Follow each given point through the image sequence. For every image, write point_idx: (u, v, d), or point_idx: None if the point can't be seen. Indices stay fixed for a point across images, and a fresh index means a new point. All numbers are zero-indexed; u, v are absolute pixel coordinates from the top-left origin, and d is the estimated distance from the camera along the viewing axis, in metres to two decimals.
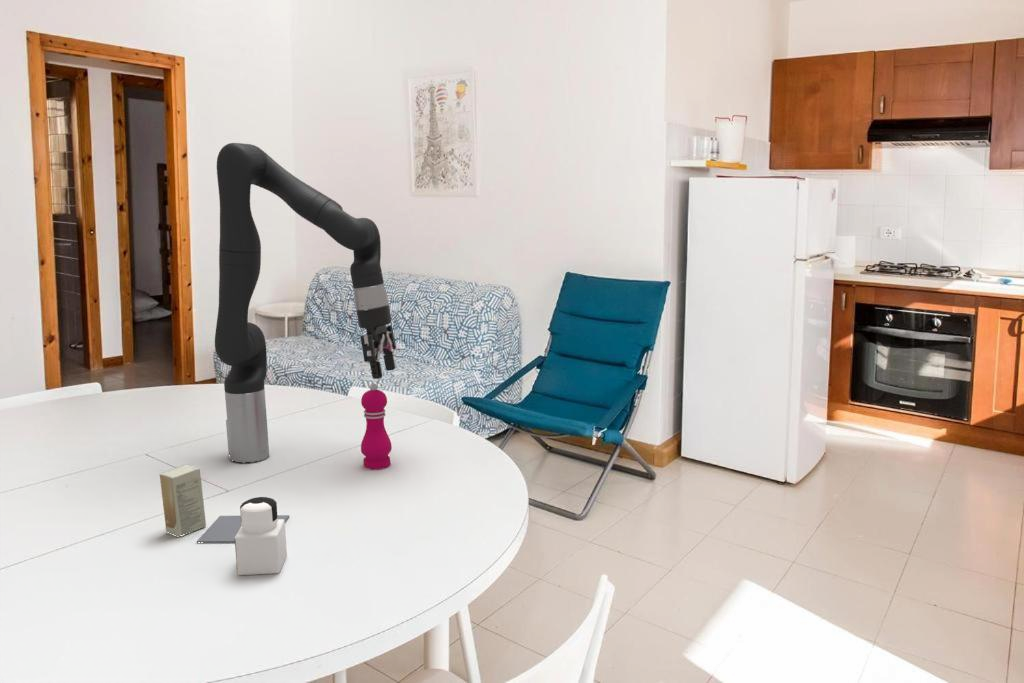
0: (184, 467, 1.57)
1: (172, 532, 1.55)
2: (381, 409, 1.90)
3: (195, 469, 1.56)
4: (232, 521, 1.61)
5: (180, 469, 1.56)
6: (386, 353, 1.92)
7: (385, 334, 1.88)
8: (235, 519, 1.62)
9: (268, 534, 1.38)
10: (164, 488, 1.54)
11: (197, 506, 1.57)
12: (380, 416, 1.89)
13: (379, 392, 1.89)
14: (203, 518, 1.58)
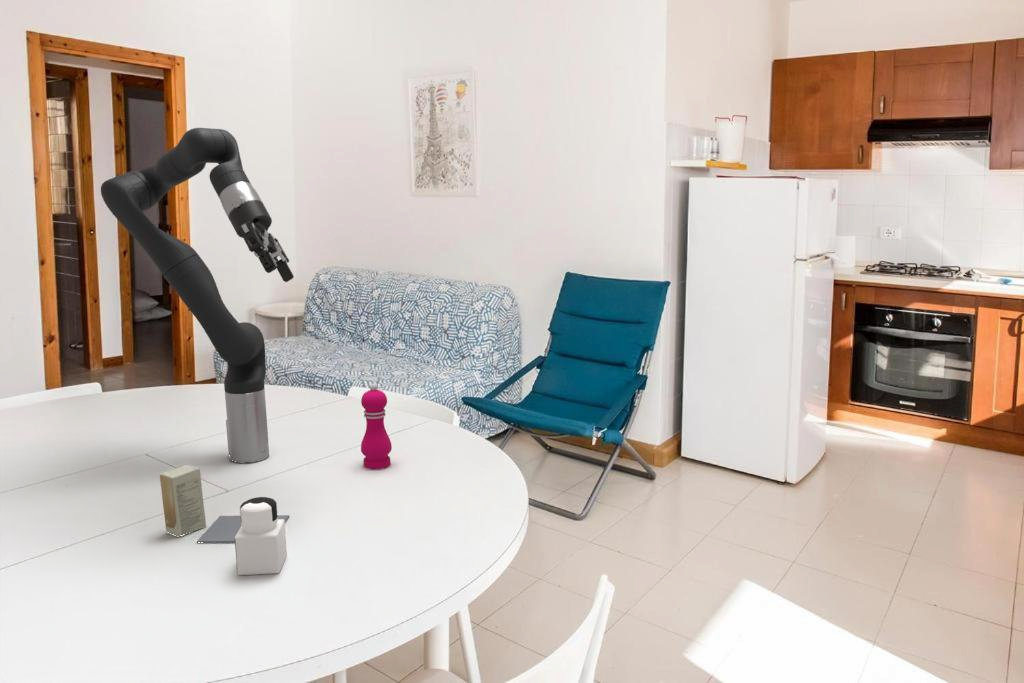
0: (184, 467, 1.57)
1: (172, 532, 1.55)
2: (381, 409, 1.90)
3: (195, 469, 1.56)
4: (232, 521, 1.61)
5: (180, 469, 1.56)
6: (278, 264, 1.68)
7: (269, 234, 1.66)
8: (235, 519, 1.62)
9: (268, 534, 1.38)
10: (164, 488, 1.54)
11: (197, 506, 1.57)
12: (380, 416, 1.89)
13: (379, 392, 1.89)
14: (203, 518, 1.58)
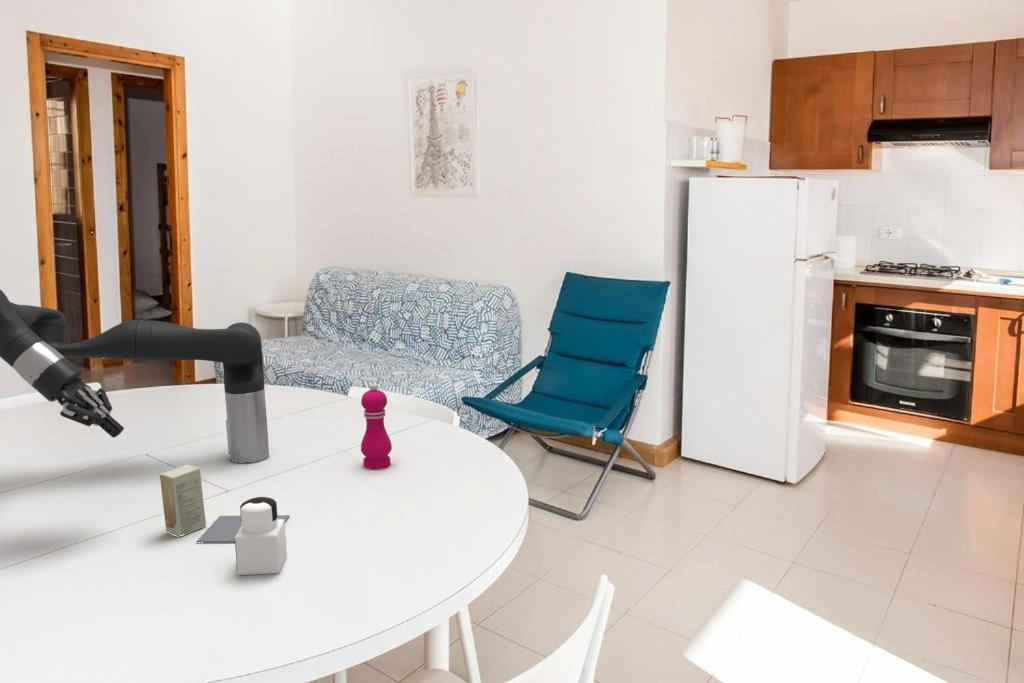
0: (184, 467, 1.57)
1: (172, 532, 1.55)
2: (381, 409, 1.90)
3: (195, 469, 1.56)
4: (232, 521, 1.61)
5: (180, 469, 1.56)
6: None
7: (84, 388, 1.54)
8: (235, 519, 1.62)
9: (268, 534, 1.38)
10: (164, 488, 1.54)
11: (197, 506, 1.57)
12: (380, 416, 1.89)
13: (379, 392, 1.89)
14: (203, 518, 1.58)
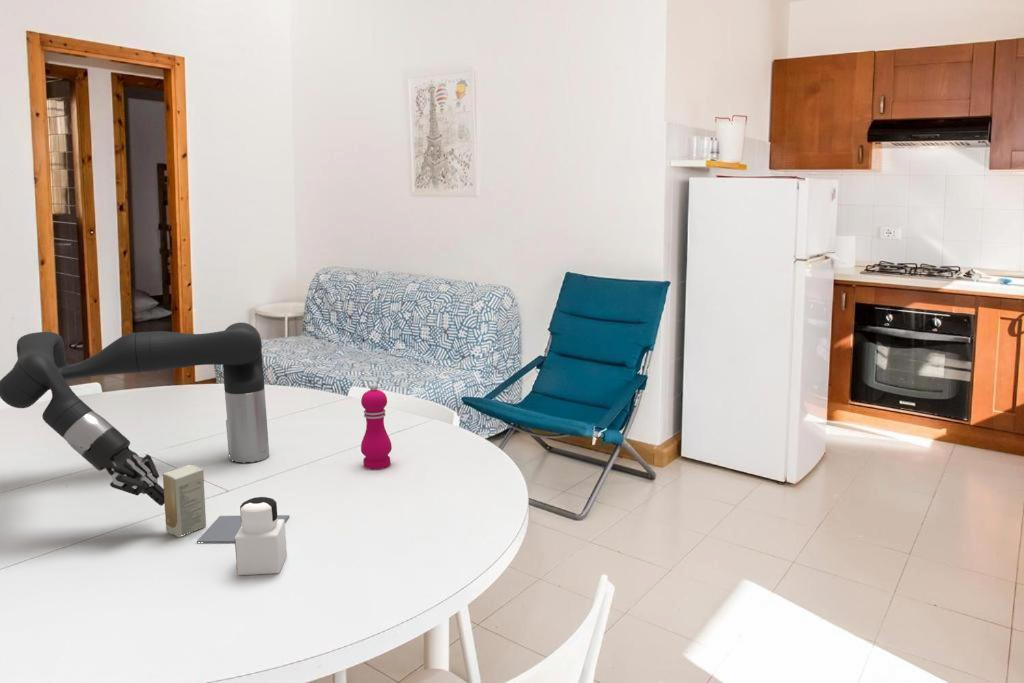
0: (187, 467, 1.57)
1: (172, 531, 1.55)
2: (381, 409, 1.90)
3: (198, 470, 1.56)
4: (232, 521, 1.61)
5: (183, 469, 1.55)
6: None
7: (132, 456, 1.56)
8: (235, 519, 1.62)
9: (268, 534, 1.38)
10: (166, 488, 1.53)
11: (199, 506, 1.57)
12: (380, 416, 1.89)
13: (379, 392, 1.89)
14: (204, 518, 1.58)
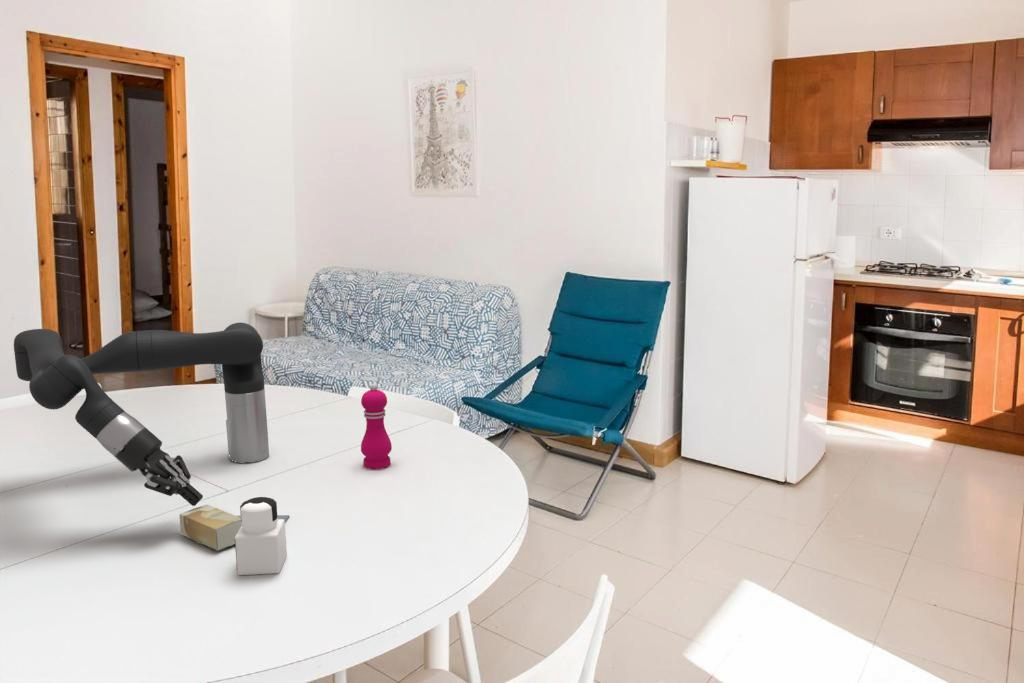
0: (238, 527, 1.50)
1: (181, 526, 1.54)
2: (381, 409, 1.90)
3: None
4: None
5: (233, 531, 1.50)
6: None
7: (164, 457, 1.56)
8: None
9: (268, 534, 1.38)
10: (207, 532, 1.48)
11: None
12: (380, 416, 1.89)
13: (379, 392, 1.89)
14: None
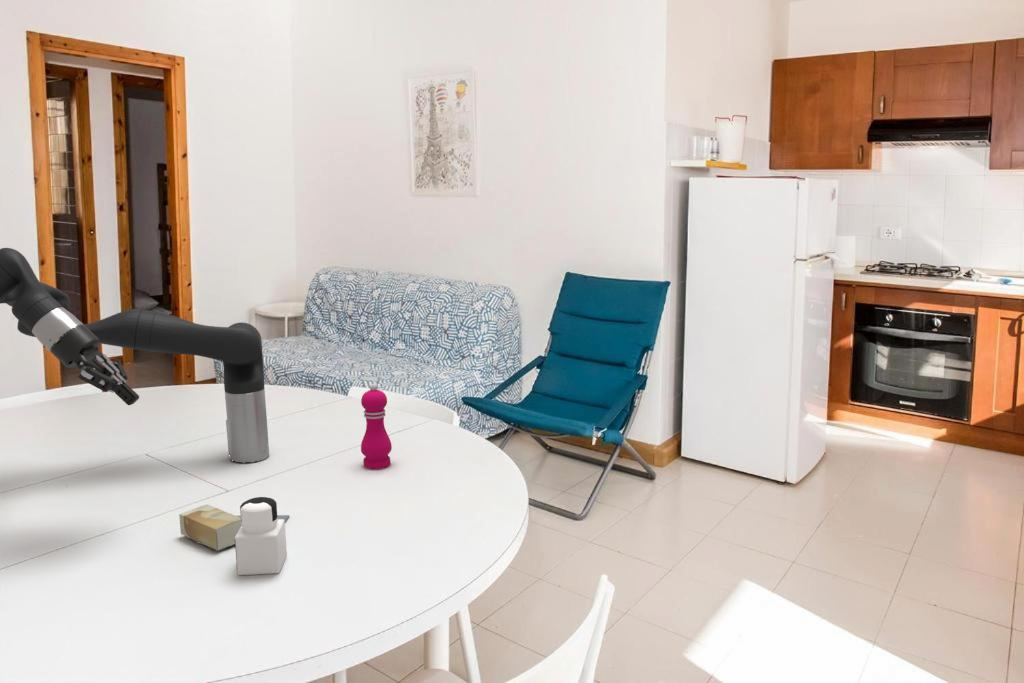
0: (238, 527, 1.50)
1: (181, 526, 1.54)
2: (381, 409, 1.90)
3: None
4: None
5: (233, 531, 1.50)
6: None
7: (101, 355, 1.54)
8: None
9: (268, 534, 1.38)
10: (207, 532, 1.48)
11: None
12: (380, 416, 1.89)
13: (379, 392, 1.89)
14: None
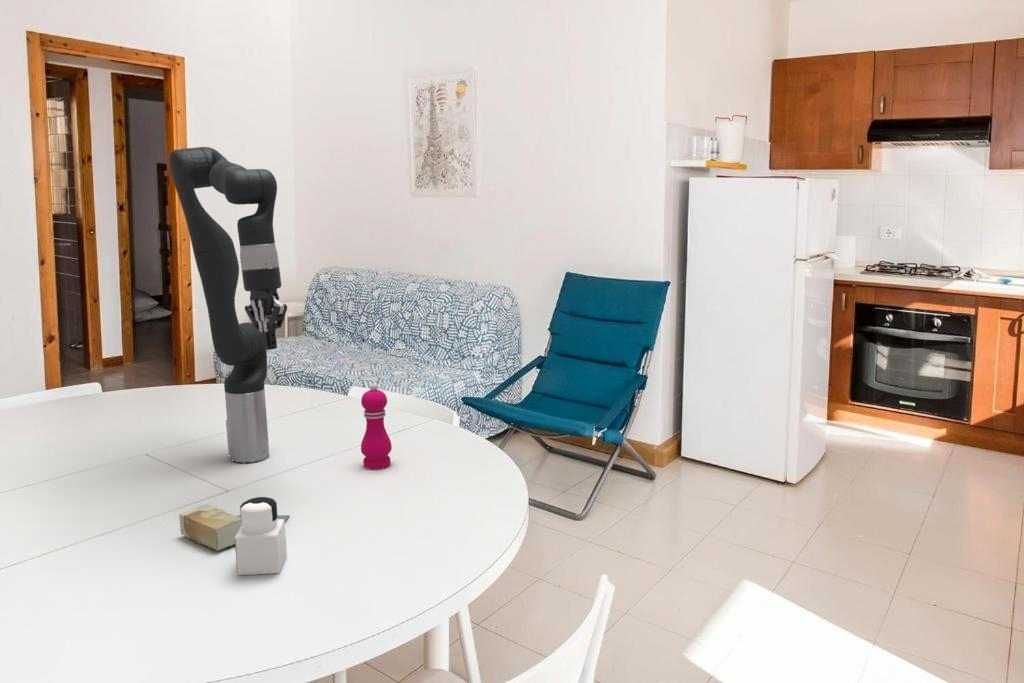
0: (238, 527, 1.50)
1: (181, 526, 1.54)
2: (381, 409, 1.90)
3: None
4: None
5: (233, 531, 1.50)
6: None
7: None
8: None
9: (268, 534, 1.38)
10: (207, 532, 1.48)
11: None
12: (380, 416, 1.89)
13: (379, 392, 1.89)
14: None
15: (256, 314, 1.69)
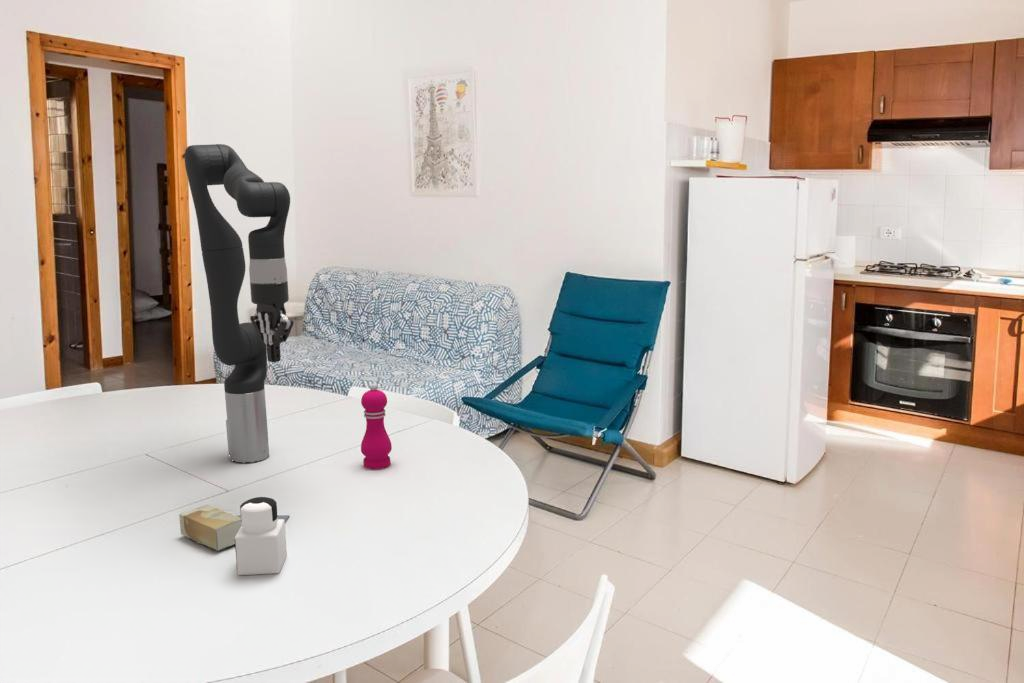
0: (238, 527, 1.50)
1: (181, 526, 1.54)
2: (381, 409, 1.90)
3: None
4: None
5: (233, 531, 1.50)
6: None
7: None
8: None
9: (268, 534, 1.38)
10: (207, 532, 1.48)
11: None
12: (380, 416, 1.89)
13: (379, 392, 1.89)
14: None
15: (262, 326, 1.70)
